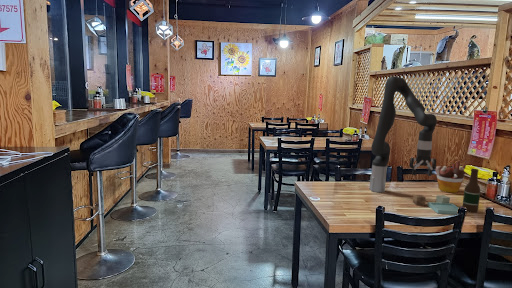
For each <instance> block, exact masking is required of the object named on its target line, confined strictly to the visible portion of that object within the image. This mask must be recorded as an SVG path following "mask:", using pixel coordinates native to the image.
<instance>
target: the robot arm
mask: <svg viewBox="0 0 512 288" xmlns="http://www.w3.org/2000/svg"><path fill="white" fill-rule="evenodd" d="M396 93H399V94H400V95H401V96H402V97H403V98H404V100H405V104H406V106H407V108H408V109H409V110H410V112H411V114H413V116H414V119H415V121H416V122H417V124H418V125H419V126H421V127H423V129H421V130H420V131H419V133H418V141H417V145H416V146H417V148H416V157H410V159H409V168H410V169H411V170H412V172H411V174H412V175H413V176H414V177H415V176H416V175H417V168H418V167H420V166H422V167H423V166H424V167H427V168H428V169H427V170H428V171H427V176H428V177H431V176H432V175H433V170H435V169H436V167H437V159H436V158H431V157H432V149H433V142H432V141H433V135H434V131H435V129H436V126H437V116H436V115H435V114H434V113H426V112H425V111H426V108H425V105H424V104H423V103H422V102H421V101H420V100H419V98H417V96H416V95H415V94H414V92H413V91H412V89H411V88H410V86H409V84H408V83H407V81H406V80H405V78H403V77H401V76H400V77H399V76H394V75H393V76H390V77H388V78H387V80H386V82H385V86H384V93H383V100H382V106H381V109H380V114H379V117H378V118H379V119H378V124H377V128H376V131H375V135H374V139H373V140H372V142H371V143H372V144H371V147H370V149H371V153H372V155H374V156H375V158H374V159H373V160H372V163H371V175H370V176H369V190H370V191H371V192H375V193H385V191H386V180H387V168H388V163H389V160H390V154H391V146H390V144H389V143H388V142H387V141H386V138H387V136H388V134H389V132H390V130H392V127H393V125H394V123H395V119H396V114H397V112H396V111H397V109H396V106H395V102H394V99H395V95H396ZM414 162H415V163H414ZM431 164H432V165H431Z"/></svg>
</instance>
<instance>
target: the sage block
mask: <svg viewBox="0 0 512 288" xmlns="http://www.w3.org/2000/svg"><path fill="white" fill-rule="evenodd" d="M450 201H451V197H450V196H447V195H444V194H439V195H438V194H437V195H436V198H435V203H451V202H450Z"/></svg>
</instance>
